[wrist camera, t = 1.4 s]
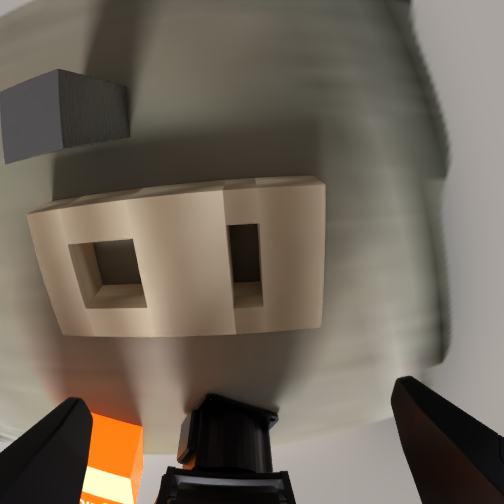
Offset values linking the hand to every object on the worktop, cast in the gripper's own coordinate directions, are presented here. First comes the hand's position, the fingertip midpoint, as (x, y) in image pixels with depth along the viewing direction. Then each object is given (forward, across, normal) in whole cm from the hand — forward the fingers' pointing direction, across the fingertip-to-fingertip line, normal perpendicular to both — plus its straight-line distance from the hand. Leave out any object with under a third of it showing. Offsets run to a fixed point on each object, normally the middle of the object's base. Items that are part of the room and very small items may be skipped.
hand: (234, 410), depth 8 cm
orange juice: (+12, +15, +20) cm, 28 cm away
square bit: (+12, +7, -9) cm, 16 cm away
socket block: (+12, +4, 0) cm, 13 cm away
